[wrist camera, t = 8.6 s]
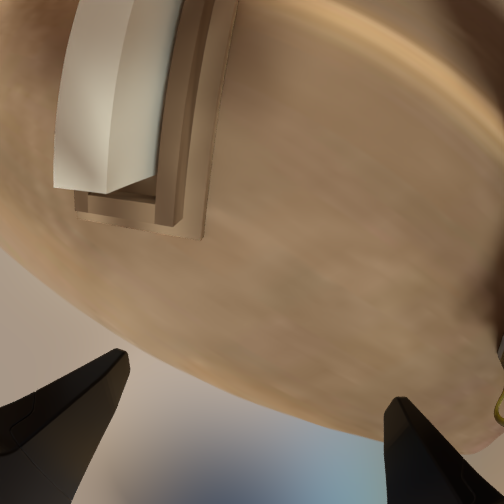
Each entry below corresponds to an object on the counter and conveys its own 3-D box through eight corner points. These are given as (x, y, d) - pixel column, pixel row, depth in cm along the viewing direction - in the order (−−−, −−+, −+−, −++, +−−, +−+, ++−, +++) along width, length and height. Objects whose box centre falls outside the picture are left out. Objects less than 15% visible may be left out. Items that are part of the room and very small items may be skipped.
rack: (248, -41, 12) (242, -60, 10) (203, 236, 20) (192, 251, 17) (117, -28, 12) (100, -40, 10) (82, 215, 20) (62, 226, 18)
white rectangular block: (186, -2, 13) (148, -43, 7) (157, 174, 18) (106, 194, 12) (138, 3, 13) (89, -29, 8) (112, 169, 18) (53, 187, 12)
